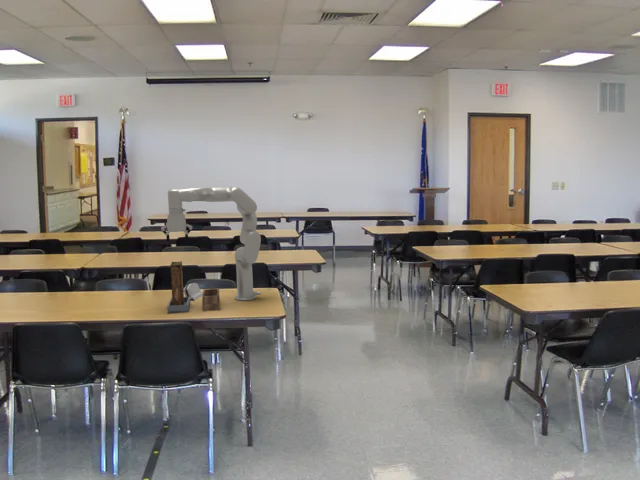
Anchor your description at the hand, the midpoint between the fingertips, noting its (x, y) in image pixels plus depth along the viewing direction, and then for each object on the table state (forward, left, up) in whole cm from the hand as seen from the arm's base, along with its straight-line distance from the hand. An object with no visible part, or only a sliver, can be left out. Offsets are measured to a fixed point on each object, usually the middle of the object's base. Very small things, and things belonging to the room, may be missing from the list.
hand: (177, 241), depth 309 cm
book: (+1, +1, -37) cm, 37 cm away
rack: (-17, +1, -38) cm, 42 cm away
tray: (+1, +1, -38) cm, 38 cm away
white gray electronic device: (-6, -26, -39) cm, 47 cm away
